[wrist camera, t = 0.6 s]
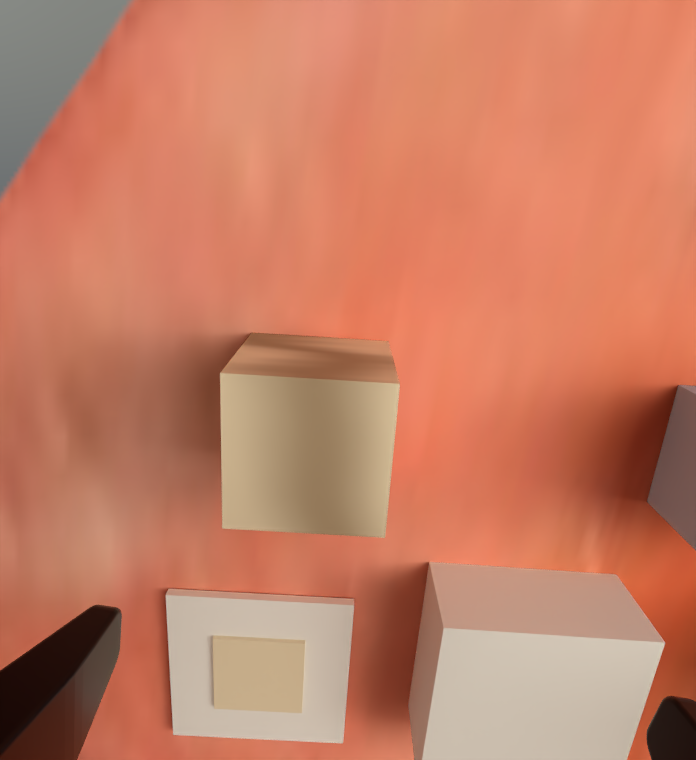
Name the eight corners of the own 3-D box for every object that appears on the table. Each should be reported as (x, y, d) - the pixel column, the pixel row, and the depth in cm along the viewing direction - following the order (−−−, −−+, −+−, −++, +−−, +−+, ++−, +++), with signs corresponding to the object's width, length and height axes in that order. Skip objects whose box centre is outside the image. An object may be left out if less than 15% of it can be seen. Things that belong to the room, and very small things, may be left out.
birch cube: (251, 455, 21) (222, 528, 16) (252, 332, 20) (219, 372, 15) (377, 462, 21) (385, 537, 16) (388, 340, 20) (400, 383, 15)
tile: (176, 726, 25) (171, 739, 25) (168, 588, 23) (163, 598, 22) (343, 735, 26) (343, 747, 25) (354, 598, 23) (354, 608, 22)
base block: (407, 699, 25) (417, 787, 21) (428, 557, 23) (443, 627, 19) (574, 710, 25) (613, 799, 22) (613, 569, 23) (665, 642, 19)
